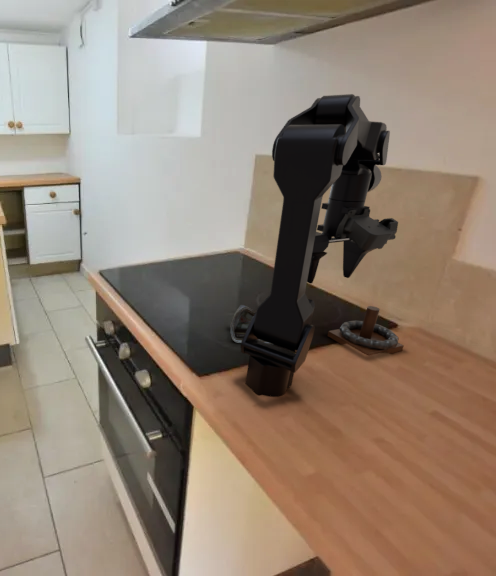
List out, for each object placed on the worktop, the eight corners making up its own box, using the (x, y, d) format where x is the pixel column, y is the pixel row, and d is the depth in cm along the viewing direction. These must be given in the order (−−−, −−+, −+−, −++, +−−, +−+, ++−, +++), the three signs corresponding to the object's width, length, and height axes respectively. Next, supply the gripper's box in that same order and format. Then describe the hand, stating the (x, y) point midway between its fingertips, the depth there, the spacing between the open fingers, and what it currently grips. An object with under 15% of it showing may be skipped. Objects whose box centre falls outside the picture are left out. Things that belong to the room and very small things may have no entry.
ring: (371, 354, 69) (373, 347, 69) (328, 330, 78) (330, 323, 77) (409, 345, 72) (411, 338, 71) (363, 323, 80) (365, 316, 80)
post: (366, 359, 70) (377, 321, 67) (327, 336, 78) (335, 302, 75) (402, 350, 72) (414, 314, 70) (360, 329, 80) (369, 296, 77)
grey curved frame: (283, 329, 81) (246, 288, 81) (296, 337, 74) (255, 291, 74) (248, 358, 82) (211, 317, 82) (258, 368, 75) (218, 323, 75)
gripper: (345, 210, 58) (323, 302, 64) (430, 203, 64) (403, 289, 70) (292, 199, 68) (278, 280, 74) (370, 194, 74) (351, 269, 80)
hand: (328, 280), depth 74 cm, fingers open, 9 cm apart
